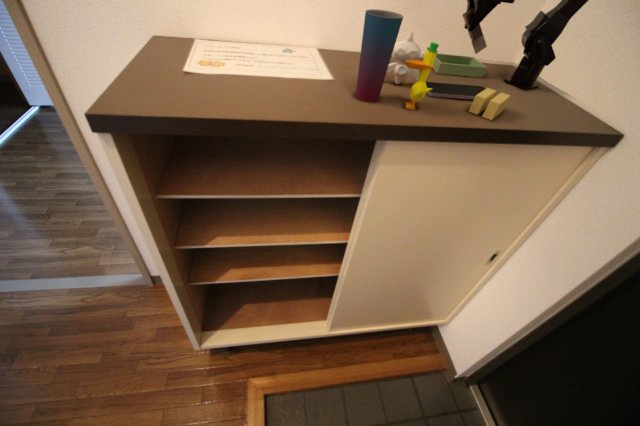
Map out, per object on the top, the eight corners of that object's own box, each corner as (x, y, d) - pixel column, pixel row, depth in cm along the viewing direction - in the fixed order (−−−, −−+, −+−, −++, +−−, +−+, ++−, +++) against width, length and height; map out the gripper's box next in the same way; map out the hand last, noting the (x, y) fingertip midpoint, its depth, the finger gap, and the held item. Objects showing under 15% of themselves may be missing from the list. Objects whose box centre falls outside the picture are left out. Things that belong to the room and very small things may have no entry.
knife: (485, 45, 77) (472, 6, 71) (488, 47, 76) (476, 8, 70) (474, 53, 79) (461, 15, 72) (477, 55, 77) (464, 17, 71)
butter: (479, 103, 65) (487, 87, 62) (501, 111, 63) (510, 95, 60) (468, 111, 61) (475, 95, 58) (491, 120, 59) (500, 103, 56)
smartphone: (422, 81, 69) (483, 86, 70) (421, 86, 70) (481, 90, 70) (430, 93, 64) (495, 98, 64) (428, 98, 65) (493, 102, 65)
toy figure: (393, 108, 58) (412, 42, 50) (392, 101, 61) (410, 37, 52) (426, 112, 58) (450, 47, 50) (423, 105, 61) (446, 42, 52)
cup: (381, 106, 59) (403, 20, 48) (349, 100, 59) (364, 14, 49) (383, 93, 63) (403, 13, 53) (353, 88, 64) (367, 7, 53)
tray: (469, 66, 85) (473, 57, 83) (482, 77, 78) (487, 67, 76) (427, 62, 84) (430, 52, 82) (436, 73, 77) (440, 63, 75)
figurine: (372, 84, 67) (384, 30, 59) (372, 77, 70) (383, 25, 63) (423, 91, 66) (441, 38, 59) (420, 84, 70) (437, 32, 62)
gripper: (451, -59, 68) (427, 18, 79) (487, -55, 55) (452, 36, 66) (494, -52, 70) (464, 22, 81) (539, -47, 57) (496, 41, 68)
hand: (468, 30), depth 74 cm, fingers closed on knife, 2 cm apart
